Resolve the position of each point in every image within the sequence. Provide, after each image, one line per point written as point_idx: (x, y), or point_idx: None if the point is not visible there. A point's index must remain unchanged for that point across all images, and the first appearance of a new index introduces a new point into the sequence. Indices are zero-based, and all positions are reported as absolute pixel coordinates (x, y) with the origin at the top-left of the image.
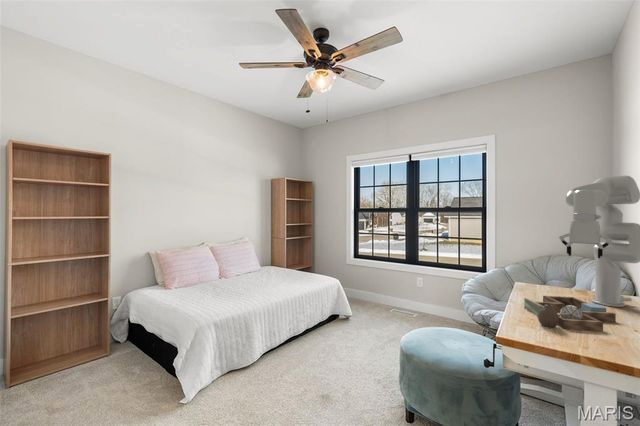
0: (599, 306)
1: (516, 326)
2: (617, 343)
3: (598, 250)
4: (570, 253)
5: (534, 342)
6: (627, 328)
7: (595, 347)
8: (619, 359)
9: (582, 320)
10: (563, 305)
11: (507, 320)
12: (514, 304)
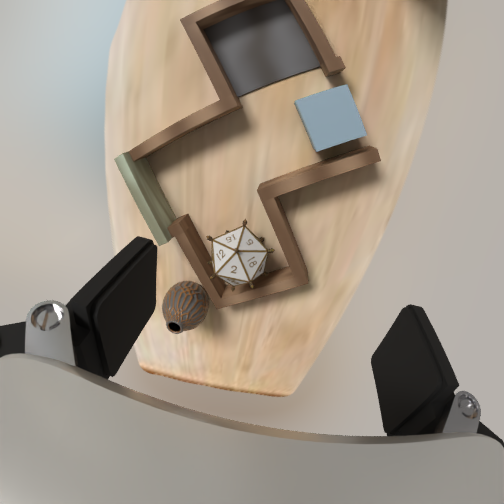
0: (349, 123)
1: None
2: (307, 332)
3: (387, 422)
4: (144, 322)
5: (180, 372)
6: (379, 211)
7: (261, 362)
8: (282, 385)
9: (259, 292)
10: (212, 275)
11: None
12: (110, 126)
